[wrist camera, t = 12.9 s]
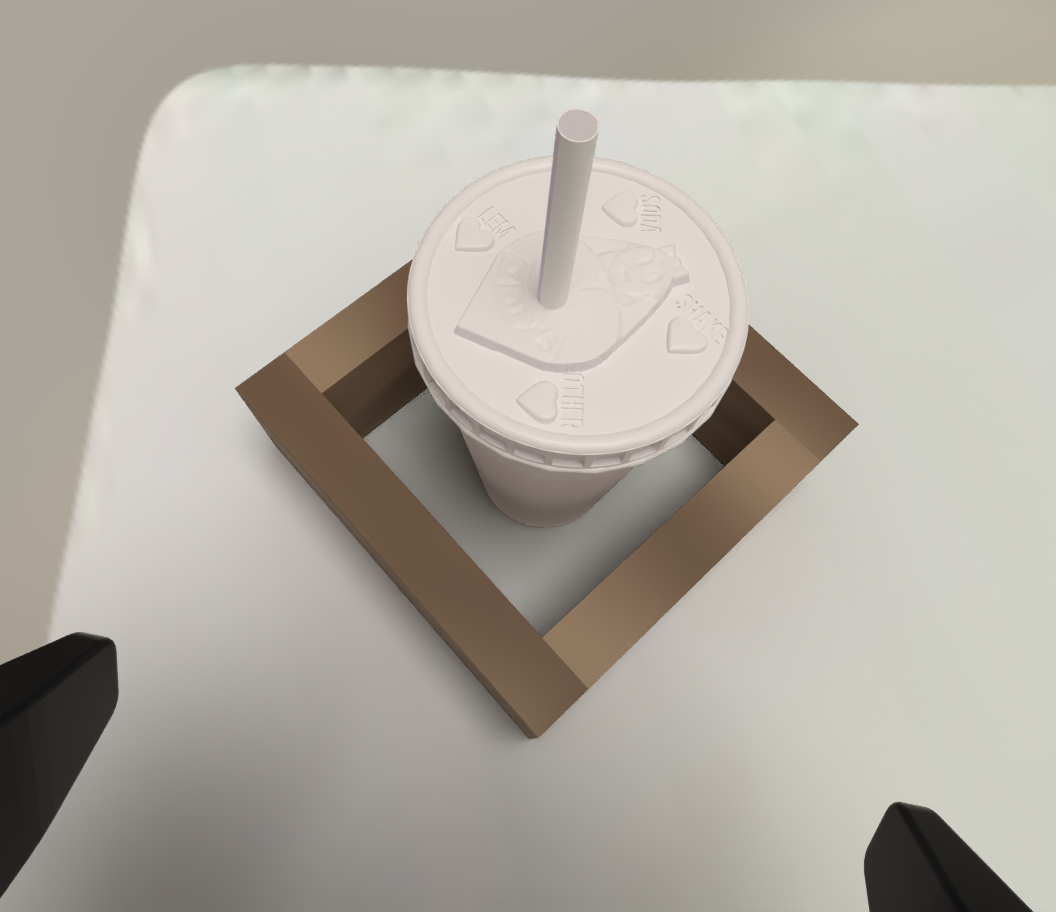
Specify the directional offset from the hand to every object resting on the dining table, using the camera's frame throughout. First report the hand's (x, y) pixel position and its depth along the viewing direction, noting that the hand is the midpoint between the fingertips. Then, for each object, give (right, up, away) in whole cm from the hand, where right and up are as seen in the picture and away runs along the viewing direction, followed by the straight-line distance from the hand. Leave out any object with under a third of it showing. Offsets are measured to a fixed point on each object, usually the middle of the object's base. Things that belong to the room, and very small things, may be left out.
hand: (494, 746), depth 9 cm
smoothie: (+1, +3, +15) cm, 15 cm away
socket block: (+1, +3, +15) cm, 15 cm away
